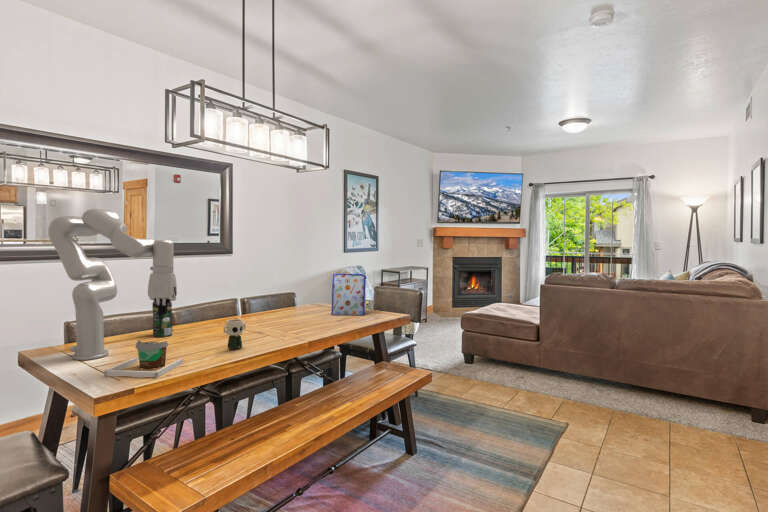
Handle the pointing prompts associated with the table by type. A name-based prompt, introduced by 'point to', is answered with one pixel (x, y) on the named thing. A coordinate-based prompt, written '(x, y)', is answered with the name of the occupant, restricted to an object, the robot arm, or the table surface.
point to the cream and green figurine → (234, 332)
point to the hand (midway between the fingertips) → (162, 314)
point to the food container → (151, 354)
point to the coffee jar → (162, 321)
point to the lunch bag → (348, 294)
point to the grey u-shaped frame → (118, 372)
